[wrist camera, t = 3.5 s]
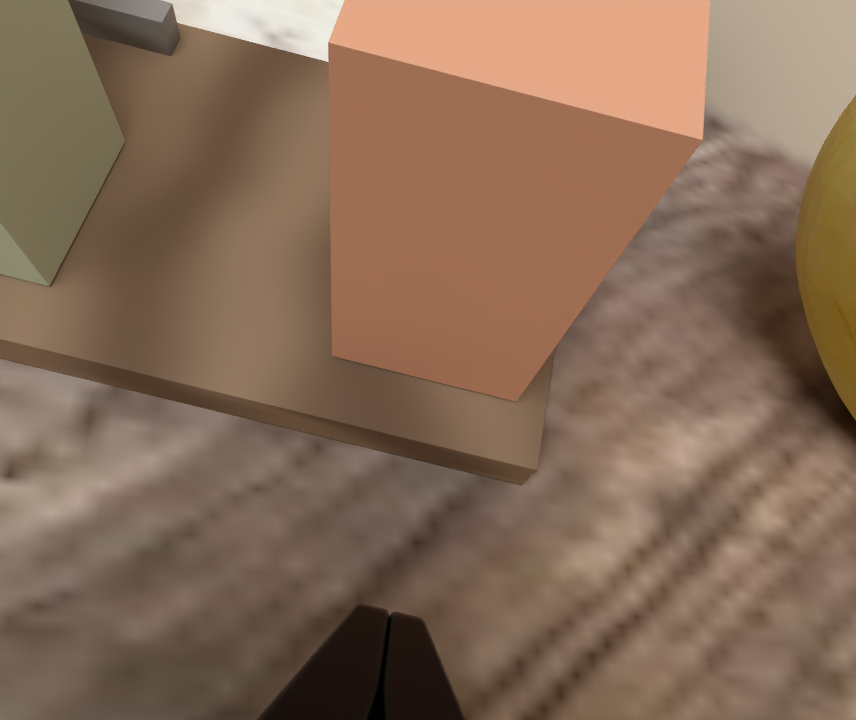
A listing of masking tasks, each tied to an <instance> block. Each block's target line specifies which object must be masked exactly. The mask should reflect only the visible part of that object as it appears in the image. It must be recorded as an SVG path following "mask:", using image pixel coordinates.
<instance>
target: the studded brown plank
mask: <svg viewBox="0 0 856 720" xmlns="http://www.w3.org/2000/svg"><path fill="white" fill-rule="evenodd" d="M68 1H69V4H70V6H71V9H72V11H73V14H74V16H75V19H76V21H77V24H78V26H79V28H80V31H81V33H82V36H83V38H84V41H85V43H86V46H87V48H88V51H89V53H90V55H91V58H92V60H93V63H94V65H95V68H96V70H97V73H98V75H99V78H100V80H101V83H102V85H103V87H104V90H105V92H106V95H107V97H108V100H109V102H110V105H111V107H112V110H113V112H114V114H115V117H116V119H117V122H118V124H119V127H120V129H121V132H122V134H123V137H124V139H125V142H124V144H123V146H122V148H121V150H120V152H119V154H118V156H117V158H116V160H115V162H114V164H113V165H112V167H111V169H110V171H109V173H108V175H107V177H106V179H105V181H104V183H103V185H102V187H101V188H100V190H99V192H98V194H97V196H96V198H95V200H94V202H93V204H92V206H91V208H90V210H89V211H88V213H87V215H86V217H85V219H84V221H83V223H82V225H81V227H80V229H79V231H78V233H77V234H76V236H75V238H74V240H73V242H72V244H71V246H70V248H69V250H68V252H67V254H66V256H65V257H64V259H63V261H62V263H61V265H60V267H59V269H58V271H57V273H56V275H55V277H54V279H53V280H52V282H51V284H50V286H46V285H42V284H38V283H34V282H30V281H26V280H22V279H18V278H14V277H10V276H6V275H2V274H0V358H1V359H5V360H9V361H13V362H18V363H22V364H26V365H30V366H34V367H38V368H42V369H46V370H50V371H54V372H59V373H63V374H67V375H71V376H75V377H79V378H83V379H87V380H91V381H95V382H100V383H104V384H108V385H112V386H116V387H120V388H124V389H128V390H132V391H137V392H141V393H145V394H149V395H153V396H157V397H161V398H165V399H169V400H173V401H178V402H182V403H186V404H190V405H194V406H198V407H202V408H206V409H210V410H214V411H219V412H223V413H227V414H231V415H235V416H239V417H243V418H247V419H251V420H255V421H260V422H264V423H268V424H272V425H276V426H280V427H284V428H288V429H292V430H296V431H301V432H305V433H309V434H313V435H317V436H321V437H325V438H329V439H333V440H337V441H342V442H346V443H350V444H354V445H358V446H362V447H366V448H370V449H374V450H378V451H383V452H387V453H391V454H395V455H399V456H403V457H407V458H411V459H415V460H419V461H424V462H428V463H432V464H436V465H440V466H444V467H448V468H452V469H456V470H461V471H465V472H469V473H473V474H477V475H481V476H485V477H489V478H493V479H497V480H502V481H506V482H510V483H514V484H518V485H522V484H523V483H524V482H525V481H526V480H527V479H528V478H529V477H530V476H531V475H532V474H533V473H535V472H536V471H537V467H538V460H539V454H540V447H541V440H542V433H543V427H544V420H545V413H546V406H547V400H548V393H549V386H550V380H551V373H552V366H553V359H554V353H555V348H554V350H553V351H552V352H551V354H550V355H549V357H548V358H547V359H546V361H545V362H544V364H543V365H542V366H541V368H540V369H539V371H538V372H537V374H536V375H535V376H534V378H533V379H532V381H531V382H530V383H529V385H528V386H527V388H526V389H525V390H524V392H523V393H522V395H521V396H520V397H519V399H518V400H517V402H515V401H511V400H507V399H503V398H499V397H495V396H491V395H487V394H483V393H479V392H475V391H471V390H467V389H463V388H459V387H455V386H451V385H446V384H442V383H438V382H434V381H430V380H426V379H422V378H418V377H414V376H410V375H406V374H402V373H398V372H394V371H390V370H386V369H382V368H378V367H374V366H370V365H366V364H362V363H358V362H353V361H349V360H345V359H341V358H337V357H333V356H332V328H331V237H330V145H329V62H326V61H322V60H318V59H314V58H310V57H306V56H303V55H299V54H295V53H291V52H287V51H283V50H279V49H276V48H272V47H268V46H264V45H260V44H256V43H252V42H249V41H245V40H241V39H237V38H233V37H229V36H226V35H222V34H218V33H214V32H210V31H206V30H202V29H199V28H195V27H191V26H187V25H183V24H179V23H177V21H176V17H175V13H174V9H173V5H172V4H171V3H167V2H164V1H160V0H68Z"/></svg>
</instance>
